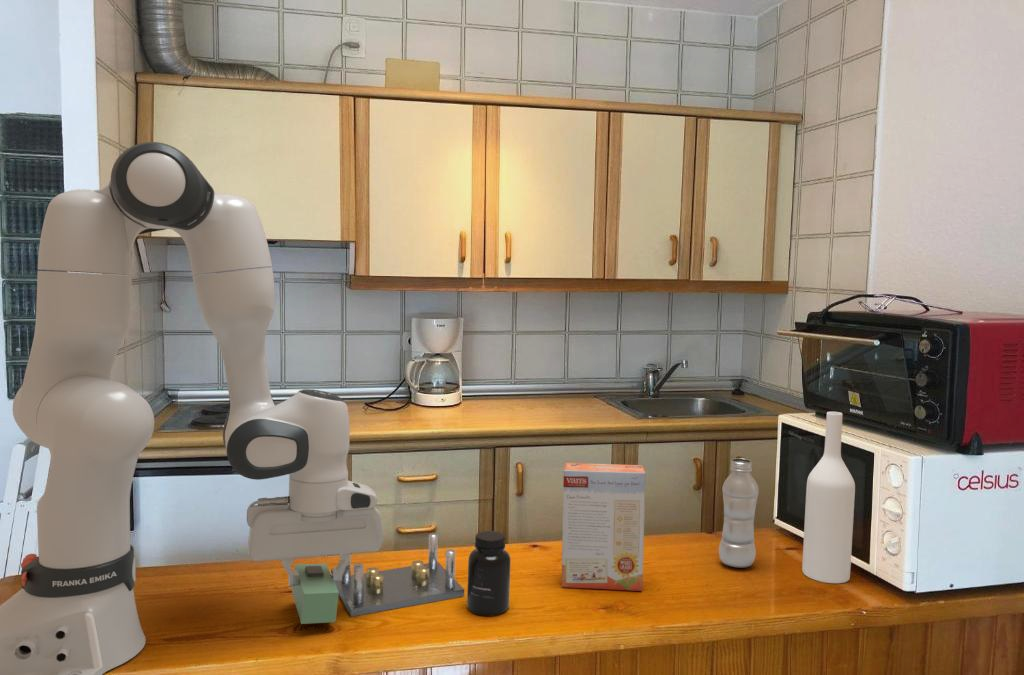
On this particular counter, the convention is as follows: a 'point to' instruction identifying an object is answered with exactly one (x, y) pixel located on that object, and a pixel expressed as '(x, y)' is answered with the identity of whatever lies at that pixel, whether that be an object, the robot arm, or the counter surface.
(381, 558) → the counter surface
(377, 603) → the chassis
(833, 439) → the bottle
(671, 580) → the counter surface
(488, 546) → the supplement bottle
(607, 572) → the cracker box
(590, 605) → the counter surface
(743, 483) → the plastic bottle
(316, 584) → the green rectangular block
